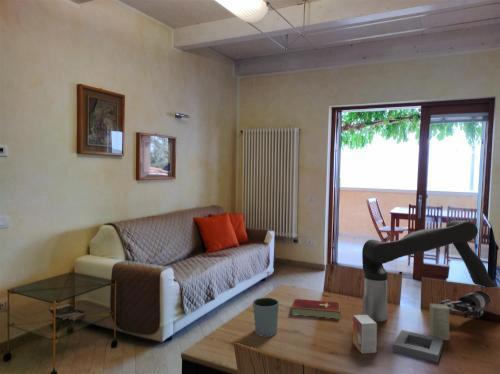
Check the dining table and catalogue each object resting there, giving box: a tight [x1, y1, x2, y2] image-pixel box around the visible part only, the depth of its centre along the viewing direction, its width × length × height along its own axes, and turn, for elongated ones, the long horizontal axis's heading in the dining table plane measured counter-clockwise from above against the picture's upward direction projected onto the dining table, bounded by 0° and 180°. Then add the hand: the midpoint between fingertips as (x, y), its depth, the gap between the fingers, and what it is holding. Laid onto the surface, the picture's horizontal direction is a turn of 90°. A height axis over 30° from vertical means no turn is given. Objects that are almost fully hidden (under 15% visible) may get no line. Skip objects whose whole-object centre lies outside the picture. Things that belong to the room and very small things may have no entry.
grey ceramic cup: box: [252, 297, 280, 337], centre depth 142 cm, size 10×10×12 cm
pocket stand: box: [392, 329, 444, 363], centre depth 128 cm, size 14×14×2 cm
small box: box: [352, 314, 378, 354], centre depth 128 cm, size 8×6×10 cm
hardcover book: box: [290, 298, 341, 320], centre depth 162 cm, size 12×21×4 cm, turn 76°
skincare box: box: [429, 302, 450, 341], centre depth 137 cm, size 6×4×12 cm
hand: (453, 312), depth 143 cm, fingers open, 8 cm apart
